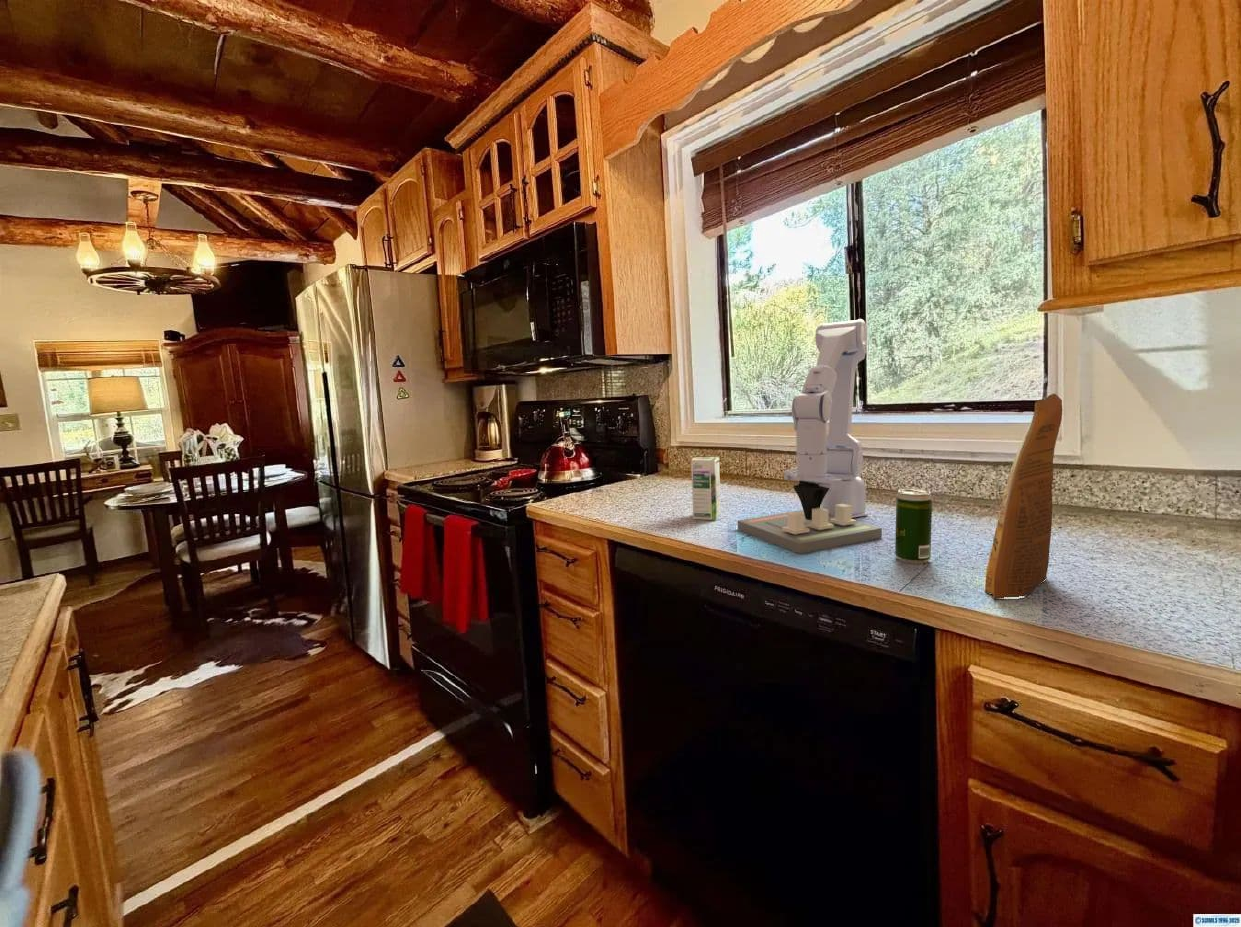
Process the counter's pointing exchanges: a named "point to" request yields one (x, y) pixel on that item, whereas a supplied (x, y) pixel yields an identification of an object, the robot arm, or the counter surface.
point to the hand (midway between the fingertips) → (811, 519)
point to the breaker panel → (807, 533)
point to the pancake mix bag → (1026, 509)
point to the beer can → (913, 526)
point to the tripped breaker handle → (820, 519)
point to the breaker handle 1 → (795, 523)
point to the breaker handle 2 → (843, 515)
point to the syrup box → (705, 488)
